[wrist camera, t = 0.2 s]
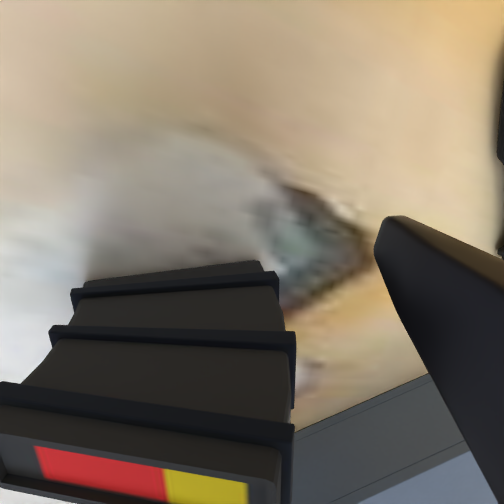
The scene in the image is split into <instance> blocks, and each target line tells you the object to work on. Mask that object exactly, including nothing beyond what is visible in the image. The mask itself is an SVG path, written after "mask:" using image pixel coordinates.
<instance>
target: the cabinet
mask: <svg viewBox="0 0 504 504" xmlns="http://www.w3.org/2000/svg"><path fill="white" fill-rule="evenodd" d="M291 504H498V502H497V500H496V498H495V496H494V495H493V493H492V491H491V489H490V487H489V485H488V483H487V481H486V479H485V478H484V476H483V474H482V472H481V470H480V468H479V466H478V464H477V463H476V461H475V459H474V457H473V455H472V453H471V451H470V449H469V448H468V446H467V444H466V442H465V440H464V438H463V436H462V434H461V432H460V431H459V429H458V427H457V425H456V423H455V421H454V419H453V417H452V416H451V414H450V412H449V410H448V408H447V406H446V404H445V402H444V401H443V399H442V397H441V395H440V393H439V391H438V389H437V387H436V385H435V384H434V382H433V380H432V378H431V376H430V374H426V375H424V376H422V377H420V378H417V379H415V380H413V381H411V382H408V383H406V384H404V385H402V386H399V387H397V388H395V389H393V390H390V391H388V392H386V393H384V394H381V395H379V396H377V397H375V398H372V399H370V400H368V401H366V402H363V403H361V404H359V405H356V406H354V407H352V408H350V409H347V410H345V411H343V412H341V413H338V414H336V415H334V416H332V417H329V418H327V419H325V420H323V421H320V422H318V423H316V424H314V425H311V426H309V427H307V428H305V429H302V430H300V431H298V432H296V433H294V459H293V485H292V501H291Z"/></svg>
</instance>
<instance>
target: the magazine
mask: <svg viewBox="0 0 504 504" xmlns="http://www.w3.org/2000/svg"><path fill="white" fill-rule="evenodd" d="M70 296H71V301H72V305H73V309H74V315H73V317H72V319H71V321H70V322H69V324H68V325H53V326H52V328H51V329H50V330H49V332H48V333H49V337H50V341H51V344H52V350H51V351H50V352H49V354H48V355H47V356H46V358H45V359H44V361H43V362H42V363H41V364H40V365H39V366H38V367H37V368H36V369H35V370H34V371H33V372H32V373H31V374H30V375H29V376H28V377H27V378H26V379H25V380H24V381H23V382H22V383H21V384H18V383H11V382H4V381H2V382H0V487H1V488H3V489H8V490H13V491H18V492H23V493H28V494H33V495H38V496H43V497H48V498H53V499H57V500H62V501H67V502H72V503H77V504H291V501H292V485H293V459H294V433H295V426H294V424H291V423H290V417H291V409H294V398H295V371H296V335H295V332H294V331H286V330H285V323H284V317H283V312H282V310H281V307H280V305H279V278H278V276H277V274H276V273H275V271H266V272H264V270H263V268H262V266H261V264H260V262H259V261H256V260H253V261H245V262H237V263H229V264H221V265H213V266H205V267H197V268H189V269H181V270H173V271H165V272H157V273H149V274H141V275H133V276H125V277H117V278H109V279H101V280H93V281H88V282H85V283H84V285H83V288H73V289H72V290H71V293H70Z"/></svg>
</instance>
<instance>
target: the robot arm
mask: <svg viewBox="0 0 504 504" xmlns="http://www.w3.org/2000/svg"><path fill="white" fill-rule="evenodd" d="M374 257H375V259H376V262H377V264H378V267H379V269H380V272H381V274H382V277H383V279H384V282H385V284H386V287H387V289H388V292H389V295H390V297H391V300H392V302H393V304H394V307H395V309H396V311H397V313H398V315H399V317H400V319H401V322H402V323H403V325H404V327H405V329H406V331H407V333H408V335H409V337H410V338H411V340H412V342H413V344H414V346H415V348H416V350H417V352H418V354H419V355H420V357H421V359H422V361H423V363H424V365H425V367H426V369H427V370H428V372H429V374H430V376H431V378H432V380H433V382H434V384H435V385H436V387H437V389H438V391H439V393H440V395H441V397H442V399H443V401H444V402H445V404H446V406H447V408H448V410H449V412H450V414H451V416H452V417H453V419H454V421H455V423H456V425H457V427H458V429H459V431H460V432H461V434H462V436H463V438H464V440H465V442H466V444H467V446H468V448H469V449H470V451H471V453H472V455H473V457H474V459H475V461H476V463H477V464H478V466H479V468H480V470H481V472H482V474H483V476H484V478H485V479H486V481H487V483H488V485H489V487H490V489H491V491H492V493H493V495H494V496H495V498H496V500H497V502H498V504H504V260H502V259H500V258H498V257H495V256H493V255H491V254H489V253H487V252H484V251H482V250H480V249H478V248H475V247H473V246H471V245H469V244H466V243H464V242H462V241H460V240H457V239H455V238H453V237H451V236H449V235H446V234H444V233H442V232H440V231H437V230H435V229H433V228H431V227H428V226H426V225H424V224H422V223H420V222H417V221H415V220H413V219H411V218H408V217H406V216H402V215H401V216H388V217H386V218H385V219H384V220H383V221H382V224H381V227H380V230H379V233H378V236H377V239H376V242H375V245H374Z"/></svg>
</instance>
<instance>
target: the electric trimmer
mask: <svg viewBox="0 0 504 504" xmlns="http://www.w3.org/2000/svg"><path fill="white" fill-rule="evenodd" d="M497 156H498V158H499V160H500V161H501V162H502V164H503V165H504V83H503V92H502V102H501V111H500V120H499V129H498V142H497ZM497 253H498V255H500V256H502V258H501V259H502V260H504V246H503V247H501V248H499V249H498V252H497Z"/></svg>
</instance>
